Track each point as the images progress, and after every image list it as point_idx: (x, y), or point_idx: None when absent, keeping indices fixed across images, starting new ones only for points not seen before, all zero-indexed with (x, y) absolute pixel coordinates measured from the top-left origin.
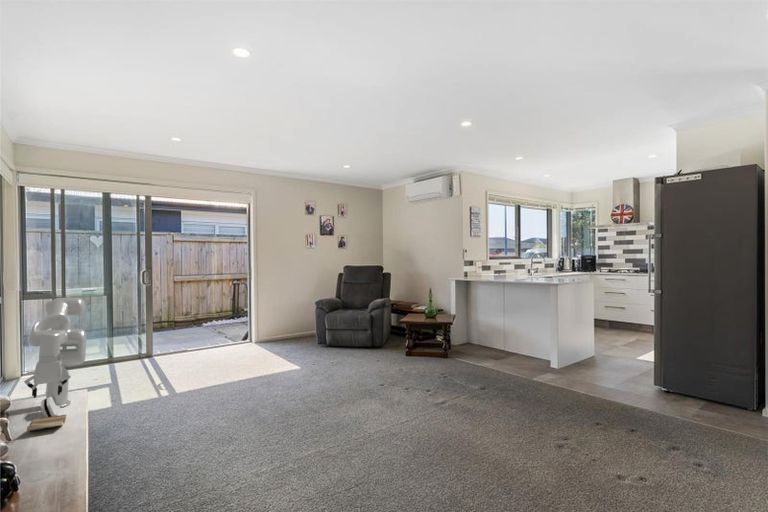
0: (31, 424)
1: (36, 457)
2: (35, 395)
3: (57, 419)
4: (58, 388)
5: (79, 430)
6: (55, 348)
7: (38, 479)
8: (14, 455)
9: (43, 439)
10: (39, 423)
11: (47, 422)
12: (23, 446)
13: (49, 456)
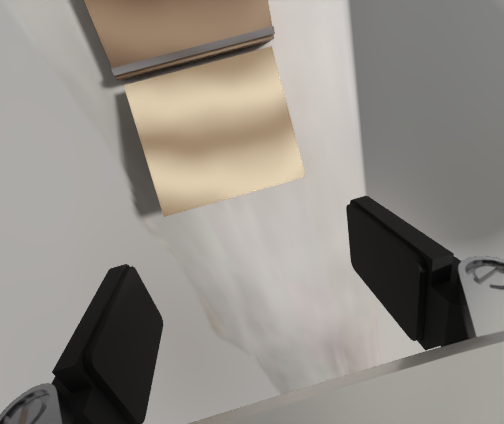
0: (93, 18)
1: (275, 332)
2: (156, 344)
3: None
4: (405, 324)
5: (350, 149)
6: None
7: None
8: (209, 314)
9: (242, 212)
10: (136, 14)
11: (178, 9)
12: (200, 259)
13: (305, 332)
